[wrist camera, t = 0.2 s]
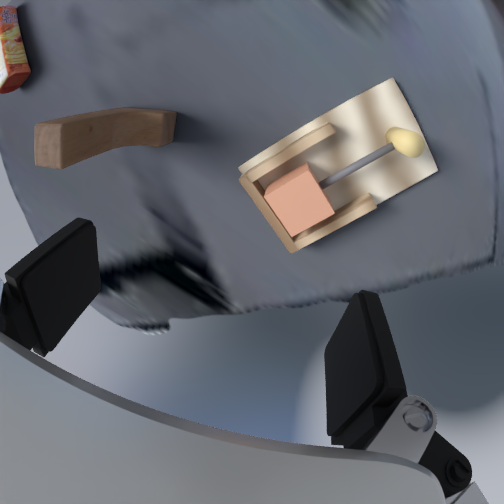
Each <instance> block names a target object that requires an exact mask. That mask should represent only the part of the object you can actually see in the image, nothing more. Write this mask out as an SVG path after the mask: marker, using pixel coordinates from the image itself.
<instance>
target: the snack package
mask: <svg viewBox="0 0 504 504" xmlns="http://www.w3.org/2000/svg"><path fill="white" fill-rule="evenodd" d="M30 73H31V70H30V67H29V65H28V61H27V57H26V53H25V49H24V45H23V41H22V37H21V33H20V28H19V23H18V18H17V10H16V8H15V7H12V6H2V7H0V94H4V93H9V92H12V91H14V90H16V89H18V88H19V87H20V86H21V85H22V84H23V83H24V81H25V80H26V79H27V78H28V76H29V75H30Z"/></svg>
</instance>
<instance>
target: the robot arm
mask: <svg viewBox="0 0 504 504" xmlns="http://www.w3.org/2000/svg"><path fill="white" fill-rule="evenodd" d="M5 277H6V280H7V282H6V283H5V284H4V283H3V281H2V279H1V278H0V504H488V502H487V500H486V499H485V497H484V495H483V494H482V492H481V491H480V489H479V487H478V486H477V484H476V483H475V482H472V483H470V481H471V478H472V468H471V464H470V462H469V460H468V459H467V458H466V457H465V456H464V455H463V454H462V453H461V452H459V451H458V450H457V449H456V448H455V447H454V446H452V445H451V444H450V443H449V442H448V441H446V440H445V439H444V438H443V437H442V436H441V435H440V434H438V433H437V432H436V431H435V429H436V425H437V416H436V413H435V411H434V409H433V407H432V406H431V405H430V404H429V403H428V402H427V401H426V400H424V399H423V398H421V397H418V396H408V395H407V391H406V385H405V381H404V378H403V374H402V370H401V366H400V362H399V359H398V355H397V352H396V348H395V345H394V342H393V339H392V335H391V332H390V329H389V325H388V323H387V319H386V316H385V313H384V311H383V307H382V304H381V301H380V298H379V296H378V294H377V293H373V292H369V291H365V290H361V291H360V292H359V293H355V294H354V295H353V297H352V299H351V301H350V303H349V305H348V307H347V309H346V311H345V313H344V314H343V316H342V319H341V320H340V322H339V324H338V326H337V328H336V330H335V331H334V333H333V335H332V337H331V339H330V341H329V342H328V344H327V346H326V349H325V354H324V358H325V377H326V378H325V379H326V407H327V434H328V436H331V444H332V445H344V448H334V447H324V446H313V445H305V444H298V443H291V442H284V441H277V440H272V439H265V438H260V437H255V436H250V435H244V434H240V433H235V432H231V431H227V430H222V429H218V428H214V427H210V426H207V425H203V424H199V423H195V422H192V421H189V420H185V419H182V418H179V417H175V416H172V415H169V414H166V413H163V412H160V411H157V410H155V409H152V408H149V407H146V406H144V405H141V404H138V403H135V402H133V401H130V400H128V399H125V398H123V397H121V396H118V395H116V394H113V393H111V392H109V391H107V390H104V389H102V388H100V387H98V386H95V385H93V384H91V383H89V382H87V381H85V380H83V379H81V378H79V377H77V376H75V375H73V374H71V373H69V372H67V371H65V370H63V369H61V368H59V367H57V366H56V365H54V364H52V363H50V362H48V361H47V360H45V359H43V358H41V357H40V356H38V355H36V354H35V353H33V352H31V351H30V350H31V349H32V348H33V350H34V352H36V353H38V354H39V355H41V356H43V357H45V356H46V354H47V353H48V352H49V351H52V350H53V349H54V348H55V347H56V346H57V344H58V343H59V342H60V340H61V339H62V338H63V336H64V335H65V334H66V333H67V331H68V330H69V329H70V327H71V326H72V325H73V324H74V322H75V321H76V320H77V318H78V317H79V316H80V315H81V314H82V312H83V311H84V310H85V309H86V308H87V306H88V305H89V304H90V303H91V302H92V300H93V299H94V298H95V297H96V296H97V295H98V293H99V291H100V289H101V281H100V272H99V262H98V251H97V237H96V228H95V226H93V223H92V221H90V220H86V219H83V218H76V219H75V220H73V221H72V222H70V223H69V224H68V225H66V226H65V227H63V228H62V229H60V230H59V231H58V232H56V233H55V234H54V235H52V236H51V237H50V238H48V239H47V240H46V241H44V242H43V243H42V244H40V245H39V246H38V247H36V248H35V249H34V250H33V251H31V252H30V253H29V254H27V255H26V256H25V257H24V258H22V259H21V260H20V261H19V262H18V263H16V264H15V265H14V266H13V267H12V268H11V269H9V270H8V271H7V272H6V273H5Z"/></svg>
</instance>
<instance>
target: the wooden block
mask: <svg viewBox="0 0 504 504" xmlns="http://www.w3.org/2000/svg"><path fill="white" fill-rule="evenodd" d="M176 116H177V113H176V112H175V111H166V110H155V109H142V108H125V107H124V108H116V109H108V110H101V111H95V112H89V113H84V114H78V115H73V116H68V117H63V118H58V119H54V120H50V121H45V122H41V123H38V124H37V125H35V164H36V165H37V166H42V167H50V168H57V169H63V168H66V167H68V166H70V165H73V164H75V163H78V162H80V161H82V160H85V159H87V158H90V157H92V156H95V155H98V154H100V153H103V152H106V151H108V150H111V149H114V148H119V147H123V146H137V145H142V146H153V147H161V146H163V145H166V144H168V143H171V142H172V141H173V137H174V130H175V123H176Z"/></svg>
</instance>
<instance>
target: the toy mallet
mask: <svg viewBox="0 0 504 504" xmlns="http://www.w3.org/2000/svg"><path fill="white" fill-rule="evenodd" d="M385 139H386V143H387V144H386V145H385V146H383V147H381V148H379V149H377V150H376V151H374V152H372V153H370V154H368V155H366V156H365V157H363V158H361V159H359V160H357V161H356V162H354V163H352V164H350V165H349V166H347V167H345V168H343V169H341V170H340V171H338V172H336V173H334V174H333V175H331V176H329V177H327V178H326V179H324V180H322V181H320V182H319V180H318V179H317V177H316V175H315V174H314V172H313V171H312V169H311V168H310V166H309V164H308V163H307V162H305V163H303V164H302V165H300V166H298V167H297V168H295V169H293V170H292V171H290V172H288V173H287V174H285V175H283V176H282V177H280V178H278V179H277V180H275V181H273V182H272V183H270V184H269V185H267V189H266V192H265V195H264V198H265V199H266V201H267V202H268V203H269V205H270V206H271V208H272V209H273V211H274V212H275V214H276V215H277V216H278V218H279V219H280V221H281V222H282V224H283V225H284V227H285V228H286V230H287V231H288V233H289V234H290V235H291V237H293V236H295V235H296V234H298V233H300V232H302V231H304V230H306V229H307V228H309V227H311V226H313V225H315V224H317V223H318V222H320V221H322V220H324V219H326V218H328V217H329V216H331V215H333V214H335V212H334V209H333V206H332V203H331V200H330V198H329V197H328V195H327V193H326V192H325V190H324V189H325V188H327V187H328V186H330V185H332V184H334V183H335V182H337V181H339V180H341V179H342V178H344V177H346V176H348V175H350V174H351V173H353V172H355V171H357V170H359V169H360V168H362V167H364V166H366V165H368V164H369V163H371V162H373V161H375V160H377V159H378V158H380V157H382V156H384V155H386V154H387V153H389V152H391V151H393V150H397V151H398V152H400V153H402V154H404V155H406V156H408V157H410V158H417V157H419V156H420V155H421V154H422V153H423V151H424V147H425V144H424V140H423V138H422V136H421V135H420V134H418V133H416V132H413V131H410V130H406V129H403V128H399V127H391V128H389V129H388V130H387V132H386V135H385Z"/></svg>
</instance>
